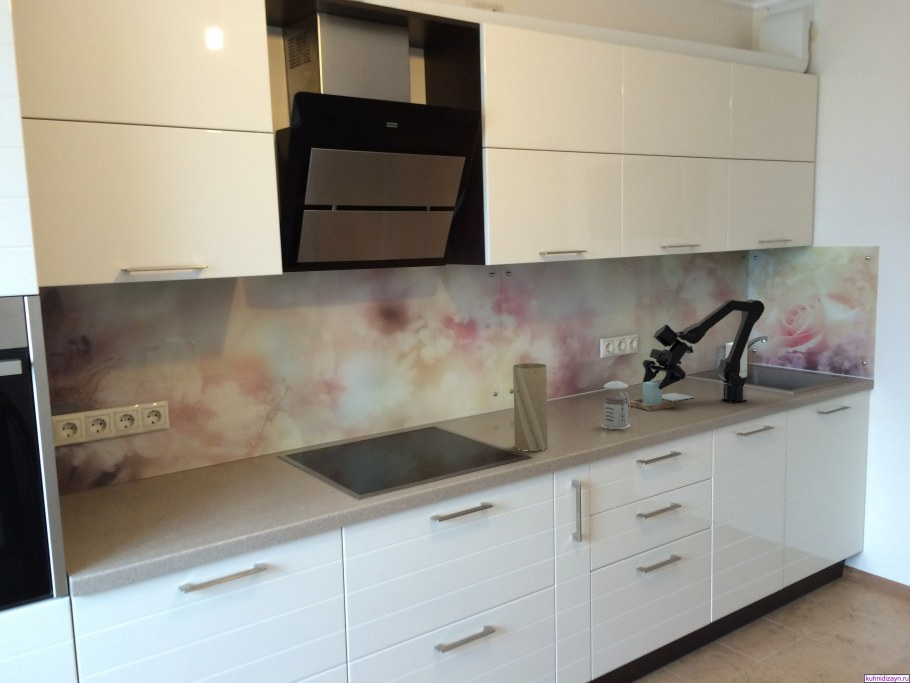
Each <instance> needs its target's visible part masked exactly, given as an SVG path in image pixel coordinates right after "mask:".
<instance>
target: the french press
mask: <svg viewBox="0 0 910 683" xmlns="http://www.w3.org/2000/svg"><path fill="white" fill-rule="evenodd" d="M612 356H614V357H615V358H617V357H618V356H620V353H619V352H618V351H615V352H613V353H612ZM603 388H605V389H608V390H623V389H624V390H625V389H627V388H629V385H628V384H627V383H626V382H622V381H621V380H620V381H619V380H617V379H615V380H613V381H610V382H606V383H605V384H604V385H603ZM627 399H628V400H629V406H628V400H627ZM630 400H631V399H630V398H629V395H628V392H626V391H624V392H623V393H622V392H619V395H617V391H615V395H607V396H605V401H604V408H603V409H604V421H603V423H602V425H601V427H602V426H603V427H606V428H610V429H609V430H611V429H624V428H628V427H630V425H631V424H630V423H629V411H630V407H631V406H630ZM603 427H602V428H603ZM606 428H605V429H606ZM624 430H625V429H624Z"/></svg>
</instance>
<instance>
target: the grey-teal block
mask: <svg viewBox="0 0 910 683" xmlns="http://www.w3.org/2000/svg"><path fill="white" fill-rule="evenodd" d="M660 384H661V382H660V381H654V380H651V381H650V382H643V381H642V383H641V385H642V387H641V388H642V390H641V391H642V398H643V404H648V405H654V404H660V403H663V400H662V395H663V389H661V390H660V389H659V388H658V387H659V385H660Z"/></svg>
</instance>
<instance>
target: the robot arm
mask: <svg viewBox="0 0 910 683" xmlns="http://www.w3.org/2000/svg"><path fill="white" fill-rule="evenodd" d="M765 308H766V307H765V304H764V303H763V302H762V300H757V299H752V298H751V299H747V300H745V301H743V300H735V299H729V298H728V299H726V300H725V301H724V302H723V303H721V305H719V306H718V307H717V308H716V309H714V310H713V311H711V313H709V314H708V315H707V316H705V317H704V318H702V319H701V320H700V321H698V322H696V323H693V324H691V325H689V326H687V327H685V328H683V329H682V330H681V331H677V332H676V331H674V330H673V329H672V328H671V327H670V326H669V324H666V323H665V324H664V325H663V326H661V327H660V328H659V329H658V330H656V332H655V333H654V334H653V338H654V339H655V340H656V342H658V343H660V344H661V345H662V346H663V347H664V349H661V350H660V349H656V348H651V351H650V353H649V358H652V359H655V361H654V360H652V359H651V360H650V359H645V360H643V362H642V367H643V368H644V376H643V379H642V382H650V381H653V380H654V379H655V378H656V377H657V375H659V374H660V372H663V373H664V372H665V375H664V377H663V379H662V381H661V382H660V383H661V384H660V385H659V387H658V388H659V389H660V390H661V389H662V390H663V389H664V388H666V387H668V386H670V385H671V386H672V385H673V384H674V383H677V382H680V381H684V380H685V379H686V377H687V372H686V371H685V370H684V369H683V367H681V366H680V365H681V364H682V361H681V360H682V359H683V357H684V356H685V355H686V354H694V349H693V345H695V344H696V345H697V344H698V343H699V342H700V341H701V340H702V339H704V337H705V336H706V334H707V332H709V330H710V329H712V328H713V327H714V326H715V325H716V324H718V323H719V322H720V321H722V320H723V319H724V318H725V317H727V316H728V315H729V314H731V313H733V311H737V312H738V311H739V312H741V314H740V315H741V321H740V324H739V327H738V330H737V332H736V334H735V337H734V339H733V341H732V342H733V345H732V348H731V350H730V353H729V355H728V357H727V358H726V357H725V359H723V358H721V359H720V362H719V365H718V366H717V368H716V369H717V370H718V371H717V375H718V377H719V378H720V379H722V382H723V385H724V386H723V398H720V400H721V401H723V400H726V401H725V402H728V401H731V402H730V403H733V402H736V403H739V402H738V401H742V402H746V401H745V400H746V399H745V398H743V397H744V387H745V384H746V380H745V379H744V378H742V377H741V376H739V374H740V360H741V357H742V355H743V352H744V349H745V347H746V344H747V343H748V341H749V339H750V336H751V333H752V330H753V328H754V326H755V324H756V323H757V322H758V321H759V320H760V318H761V317H762V315H763V313H764V311H765ZM681 340H682V341H681ZM687 343H689V344H691V345H688V344H687ZM666 347H669V349H665V348H666Z"/></svg>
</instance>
